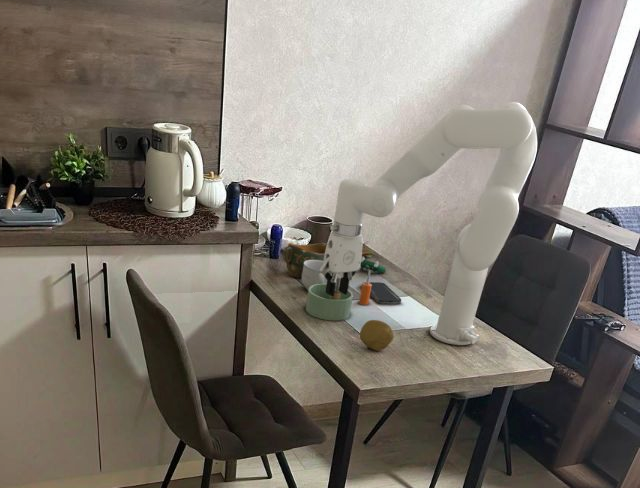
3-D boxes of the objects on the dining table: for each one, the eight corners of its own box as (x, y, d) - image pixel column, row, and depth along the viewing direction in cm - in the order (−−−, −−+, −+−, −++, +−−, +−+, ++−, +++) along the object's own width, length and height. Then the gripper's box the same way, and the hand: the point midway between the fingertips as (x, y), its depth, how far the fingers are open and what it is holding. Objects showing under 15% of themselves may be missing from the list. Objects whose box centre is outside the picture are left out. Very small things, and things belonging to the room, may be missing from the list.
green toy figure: (358, 271, 247) (354, 262, 242) (363, 262, 248) (359, 252, 242) (381, 279, 244) (378, 270, 238) (387, 270, 244) (383, 260, 238)
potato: (355, 343, 193) (361, 315, 189) (382, 343, 195) (388, 315, 191) (363, 354, 188) (369, 326, 183) (391, 354, 189) (397, 326, 185)
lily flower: (340, 255, 255) (343, 242, 252) (347, 246, 264) (349, 233, 262) (374, 261, 253) (376, 248, 250) (379, 252, 263) (381, 239, 260)
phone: (383, 282, 232) (402, 300, 220) (382, 285, 233) (401, 303, 221) (360, 282, 230) (379, 300, 218) (360, 285, 230) (378, 303, 219)
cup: (270, 265, 237) (274, 234, 231) (328, 267, 242) (333, 236, 237) (280, 279, 227) (284, 248, 221) (340, 281, 232) (345, 249, 227)
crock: (358, 317, 208) (361, 297, 205) (322, 323, 202) (325, 302, 199) (332, 301, 217) (335, 281, 213) (297, 305, 210) (299, 286, 207)
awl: (339, 313, 207) (345, 279, 201) (332, 314, 206) (337, 280, 200) (334, 310, 209) (339, 276, 203) (326, 311, 207) (332, 277, 202)
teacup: (303, 281, 228) (307, 256, 223) (337, 287, 227) (341, 262, 222) (295, 296, 216) (298, 270, 212) (330, 303, 215) (334, 277, 211)
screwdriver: (369, 304, 218) (376, 272, 212) (362, 305, 217) (368, 273, 211) (364, 301, 220) (370, 269, 214) (357, 302, 218) (363, 269, 213)
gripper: (330, 235, 187) (319, 301, 197) (379, 231, 196) (367, 295, 206) (313, 226, 192) (304, 291, 202) (362, 222, 201) (351, 286, 211)
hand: (336, 293), depth 204 cm, fingers open, 4 cm apart
